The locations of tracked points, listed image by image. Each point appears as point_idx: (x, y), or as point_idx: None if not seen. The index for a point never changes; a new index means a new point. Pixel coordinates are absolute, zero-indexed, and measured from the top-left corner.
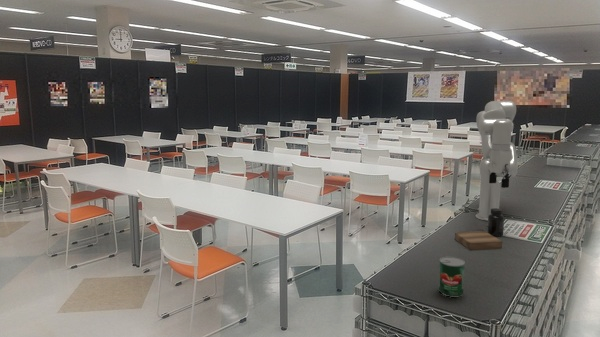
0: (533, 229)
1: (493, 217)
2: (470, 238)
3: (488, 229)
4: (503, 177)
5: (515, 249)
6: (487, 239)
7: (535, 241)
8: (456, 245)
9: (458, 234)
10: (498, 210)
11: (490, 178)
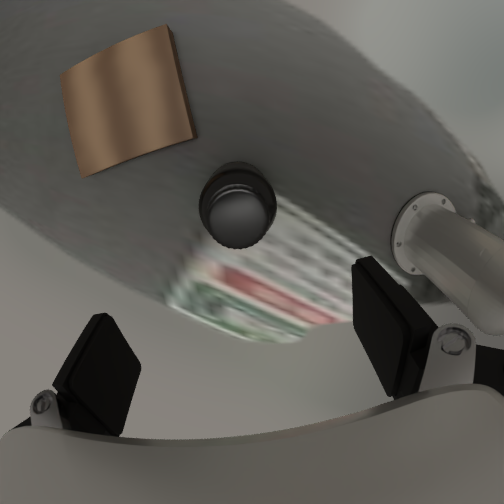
0: (300, 327)
1: (208, 187)
2: (99, 73)
3: (231, 163)
4: (45, 406)
5: (93, 213)
6: (93, 130)
7: (178, 295)
8: (109, 38)
9: (142, 34)
10: (214, 224)
11: (379, 298)
